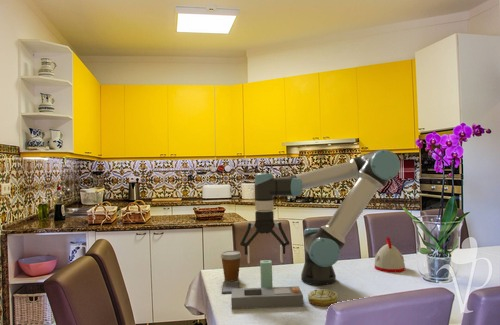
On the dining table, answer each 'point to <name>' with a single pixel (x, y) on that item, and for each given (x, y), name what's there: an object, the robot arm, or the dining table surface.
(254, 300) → the power strip
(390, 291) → the dining table surface
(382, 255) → the kitchen timer
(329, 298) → the yellow flat round piece
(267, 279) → the pale green tall block
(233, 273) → the disposable coffee cup
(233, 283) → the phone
